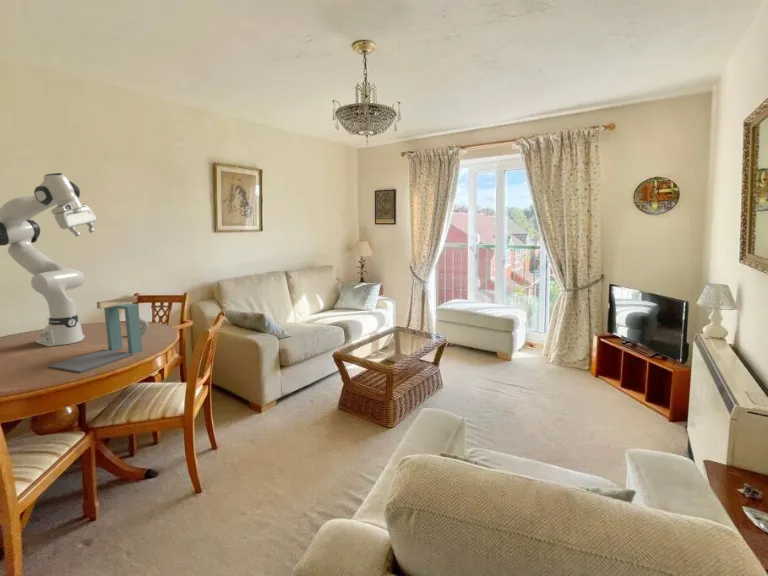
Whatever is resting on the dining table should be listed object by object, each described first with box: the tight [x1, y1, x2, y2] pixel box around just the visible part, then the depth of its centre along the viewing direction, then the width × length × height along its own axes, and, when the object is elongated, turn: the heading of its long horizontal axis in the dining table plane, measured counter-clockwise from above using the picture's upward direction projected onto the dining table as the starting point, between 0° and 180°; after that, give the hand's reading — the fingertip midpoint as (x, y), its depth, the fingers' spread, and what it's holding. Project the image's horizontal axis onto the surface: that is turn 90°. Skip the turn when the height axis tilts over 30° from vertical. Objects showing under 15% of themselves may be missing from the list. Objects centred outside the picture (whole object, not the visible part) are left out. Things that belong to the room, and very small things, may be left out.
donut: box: [139, 317, 149, 335], centre depth 229 cm, size 10×4×10 cm, turn 129°
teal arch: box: [103, 303, 143, 354], centre depth 198 cm, size 16×6×24 cm, turn 72°
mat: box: [48, 349, 134, 374], centre depth 185 cm, size 20×25×1 cm
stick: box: [96, 295, 138, 310], centre depth 195 cm, size 2×19×3 cm, turn 162°
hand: (85, 234), depth 194 cm, fingers open, 8 cm apart
